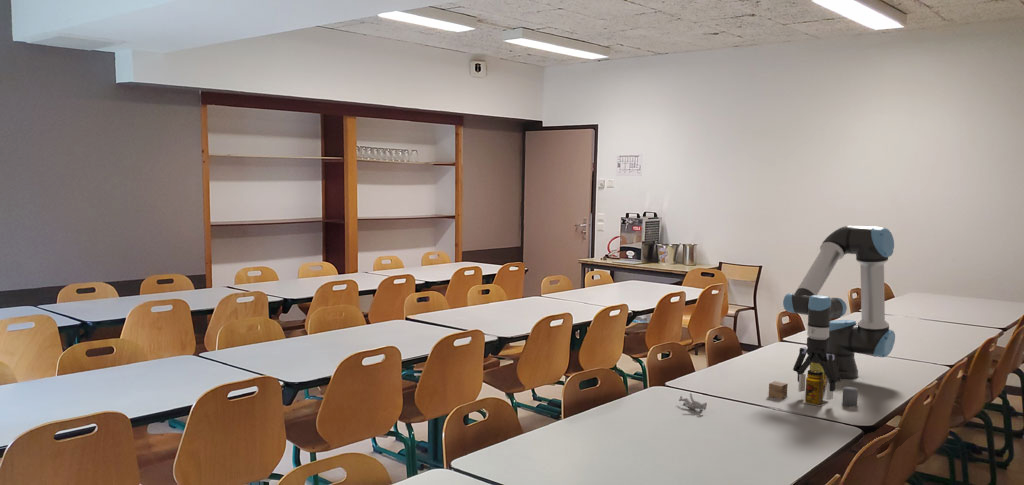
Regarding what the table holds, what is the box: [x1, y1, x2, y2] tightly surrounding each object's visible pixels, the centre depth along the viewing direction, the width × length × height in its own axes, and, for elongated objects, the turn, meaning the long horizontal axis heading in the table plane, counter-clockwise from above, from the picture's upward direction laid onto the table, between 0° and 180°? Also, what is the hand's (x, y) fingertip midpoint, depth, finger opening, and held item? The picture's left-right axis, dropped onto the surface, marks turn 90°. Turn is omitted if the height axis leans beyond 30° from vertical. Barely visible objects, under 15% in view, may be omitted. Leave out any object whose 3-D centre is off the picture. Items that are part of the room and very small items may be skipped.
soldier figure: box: [678, 393, 708, 411], centre depth 262 cm, size 8×5×12 cm
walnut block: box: [768, 380, 788, 400], centre depth 279 cm, size 5×5×5 cm
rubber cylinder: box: [841, 386, 859, 408], centre depth 269 cm, size 5×5×6 cm
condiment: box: [801, 369, 829, 407], centre depth 271 cm, size 7×8×12 cm
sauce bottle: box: [809, 362, 827, 390], centre depth 290 cm, size 6×6×20 cm
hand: (815, 395), depth 272 cm, fingers open, 11 cm apart
